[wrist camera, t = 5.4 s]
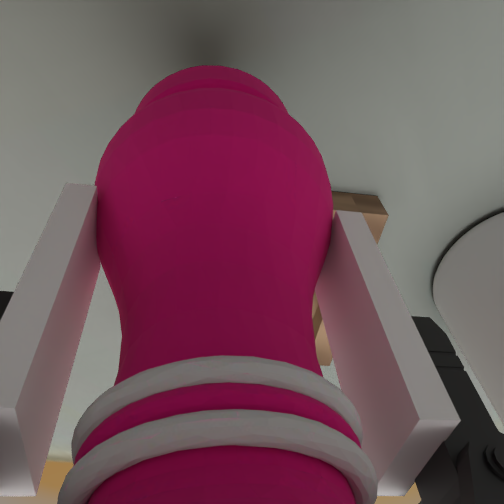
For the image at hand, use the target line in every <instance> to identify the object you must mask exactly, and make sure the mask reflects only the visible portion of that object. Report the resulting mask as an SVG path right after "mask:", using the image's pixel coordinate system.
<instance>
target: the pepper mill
mask: <svg viewBox="0 0 504 504" xmlns="http://www.w3.org/2000/svg"><path fill="white" fill-rule="evenodd" d="M95 186H97V198H98V203H97V223H96V242H97V252H98V255H99V258H100V262H101V264H102V267H103V269H104V272H105V274H106V277H107V279H108V282H109V284H110V287H111V289H112V292H113V294H114V297H115V300H116V303H117V307H118V310H119V314H120V322H121V331H122V342H121V352H120V361H119V370H118V374H117V377H116V381H115V384H114V386H113V387H111V388H109V389H108V390H107V391H105V392H104V393H103V394H102V395H100V396H99V397H98V398H97V399H96V400H95V401H94V402H93V403H92V404H91V405H90V406H89V407H88V408H87V410H86V411H85V412H84V414H83V415H82V417H81V418H80V420H79V422H78V424H77V426H76V428H75V430H74V434H73V439H72V458H73V464H74V466H73V468H72V469H71V470H70V471H69V472H68V474H67V475H66V477H65V480H64V482H63V485H62V487H61V489H60V492H59V496H58V503H57V504H374V503H375V501H376V498H377V487H378V480H377V476H376V472H375V469H374V467H373V465H372V463H371V461H370V459H369V458H368V456H367V455H366V454H365V453H364V452H363V450H362V448H361V445H362V440H363V430H362V425H361V420H360V416H359V415H358V413H357V411H356V409H355V407H354V405H353V403H352V402H351V401H350V400H349V399H348V398H347V396H346V395H345V394H344V393H343V392H342V391H341V390H340V389H339V388H338V387H336V386H335V385H333V384H332V383H331V382H329V381H328V380H326V379H325V378H323V375H322V372H321V368H320V365H319V362H318V359H317V354H316V346H315V337H314V329H313V320H312V307H313V295H314V291H315V287H316V284H317V281H318V278H319V275H320V273H321V270H322V267H323V264H324V262H325V259H326V256H327V252H328V249H329V245H330V241H331V232H332V221H333V199H332V193H331V186H330V182H329V178H328V175H327V171H326V168H325V165H324V162H323V159H322V156H321V154H320V152H319V150H318V149H317V147H316V145H315V143H314V141H313V140H312V139H311V137H310V136H309V135H308V134H307V132H306V131H305V130H304V129H303V127H302V126H301V125H300V124H299V123H298V122H297V121H296V120H295V119H293V118H292V117H291V116H290V115H289V114H288V112H287V110H286V108H285V106H284V104H283V103H282V102H281V100H280V99H279V97H278V96H277V95H276V94H275V93H274V92H273V91H272V90H271V89H270V88H269V87H268V86H267V85H266V84H265V83H263V82H262V81H261V80H259V79H257V78H256V77H254V76H252V75H250V74H248V73H246V72H243V71H241V70H238V69H234V68H229V67H224V66H208V65H202V66H196V67H190V68H187V69H184V70H181V71H178V72H176V73H174V74H172V75H169V76H168V77H166V78H165V79H163V80H162V81H160V82H159V83H157V84H156V85H155V86H154V87H153V88H152V89H151V90H150V91H149V92H148V93H147V94H146V95H145V97H144V98H143V99H142V101H141V103H140V104H139V106H138V107H137V109H136V112H135V114H134V115H133V116H132V117H131V118H130V119H129V120H128V121H127V122H126V123H125V124H124V125H122V127H121V128H120V129H119V130H118V132H117V133H116V134H115V136H114V137H113V138H112V140H111V141H110V142H109V144H108V146H107V148H106V150H105V152H104V154H103V156H102V158H101V160H100V164H99V168H98V172H97V176H96V181H95Z"/></svg>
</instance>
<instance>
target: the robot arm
mask: <svg viewBox="0 0 504 504" xmlns="http://www.w3.org/2000/svg"><path fill="white" fill-rule="evenodd" d="M97 203H98V198H97V186H93V185H83V184H73V183H66V184H65V187H64V189H63V191H62V193H61V195H60V197H59V199H58V201H57V203H56V205H55V207H54V210H53V212H52V214H51V216H50V218H49V220H48V222H47V224H46V226H45V228H44V230H43V233H42V235H41V237H40V239H39V241H38V243H37V245H36V247H35V249H34V251H33V253H32V256H31V258H30V260H29V262H28V264H27V266H26V268H25V270H24V272H23V274H22V277H21V279H20V281H19V283H18V285H17V287H16V289H15V291H14V292H8V291H0V496H36V494H37V490H38V486H39V483H40V480H41V476H42V472H43V469H44V465H45V462H46V458H47V455H48V451H49V448H50V444H51V440H52V437H53V433H54V430H55V426H56V423H57V419H58V416H59V412H60V408H61V405H62V401H63V398H64V394H65V391H66V387H67V384H68V380H69V377H70V373H71V369H72V366H73V362H74V359H75V355H76V352H77V348H78V345H79V341H80V337H81V334H82V330H83V327H84V323H85V320H86V316H87V313H88V309H89V305H90V302H91V298H92V295H93V291H94V288H95V284H96V281H97V277H98V273H99V270H100V258H99V255H98V252H97V242H96V223H97ZM315 293H316V297H317V300H318V304H319V308H320V311H321V315H322V319H323V323H324V326H325V330H326V334H327V338H328V341H329V345H330V349H331V353H332V356H333V360H334V364H335V368H336V371H337V375H338V379H339V383H340V386H341V390H342V392H343V393H344V394H345V395H346V396H347V398H348V399H349V400H350V401H351V402H352V403H353V405H354V407H355V409H356V411H357V413H358V415H359V416H360V420H361V425H362V430H363V440H362V445H361V448H362V450H363V452H364V453H365V454H366V455H367V456H368V458H369V459H370V461H371V463H372V465H373V467H374V469H375V472H376V476H377V480H378V487H377V496H405V494H406V493H407V492H408V490H409V489H410V488H411V486H412V485H413V484H414V482H415V483H416V485H417V488H418V491H419V494H420V497H421V502H420V503H419V504H504V434H503V433H500V432H499V431H498V429H497V428H496V426H495V424H494V422H493V421H492V419H491V417H490V415H489V413H488V411H487V409H486V408H485V406H484V404H483V402H482V400H481V398H480V396H479V394H478V393H477V391H476V389H475V387H474V385H473V383H472V381H471V380H470V378H469V376H468V374H467V372H466V371H464V366H463V365H462V363H461V361H460V359H459V357H458V356H456V352H455V350H454V348H453V346H452V344H451V342H450V340H449V338H448V337H447V335H446V333H445V332H444V331H443V330H442V329H441V328H440V327H439V326H438V325H437V324H436V323H435V322H434V321H433V320H432V319H431V318H430V317H415V316H411V315H410V313H409V311H408V309H407V307H406V305H405V302H404V300H403V298H402V296H401V294H400V292H399V290H398V288H397V286H396V284H395V281H394V279H393V277H392V275H391V273H390V271H389V269H388V267H387V265H386V263H385V260H384V258H383V256H382V254H381V252H380V250H379V248H378V246H377V244H376V242H375V239H374V237H373V235H372V233H371V231H370V229H369V227H368V225H367V223H366V221H365V218H364V216H363V214H362V213H361V212H351V211H341V210H336V212H335V215H334V218H333V221H332V232H331V241H330V245H329V249H328V252H327V256H326V259H325V262H324V264H323V267H322V270H321V273H320V275H319V278H318V281H317V284H316V287H315Z"/></svg>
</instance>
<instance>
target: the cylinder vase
mask: <svg viewBox="0 0 504 504" xmlns="http://www.w3.org/2000/svg"><path fill="white" fill-rule="evenodd" d="M433 297H434V302H435V305H436V307H437V309H438V311H439V313H440V314H441V316H442V318H443V320H444V321H445V323H446V325H447V327H448V328H449V330H450V332H451V334H452V335H453V337H454V339H455V341H456V342H457V344H458V346H459V348H460V349H461V351H462V353H463V355H464V356H465V358H466V360H467V362H468V363H469V365H470V367H471V369H472V370H473V372H474V374H475V376H476V377H477V379H478V381H479V383H480V384H481V386H482V388H483V390H484V391H485V393H486V395H487V397H488V398H489V400H490V402H491V404H492V406H493V407H494V409H495V411H496V413H497V414H498V416H499V418H500V420H501V421H502V423H503V425H504V212H503V213H500V214H497V215H495V216H493V217H491V218H489V219H487V220H485V221H483V222H481V223H480V224H478V225H477V226H475V227H474V228H472V229H471V230H469V231H468V232H467V233H466V234H464V235H463V236H462V237H461V238H460V239H459V240H458V241H457V242H456V243H455V244H454V245H453V246H452V247H451V248H450V249H449V251H448V252H447V253H446V255H445V256H444V258H443V259H442V261H441V263H440V265H439V267H438V269H437V271H436V274H435V278H434V283H433Z"/></svg>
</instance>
